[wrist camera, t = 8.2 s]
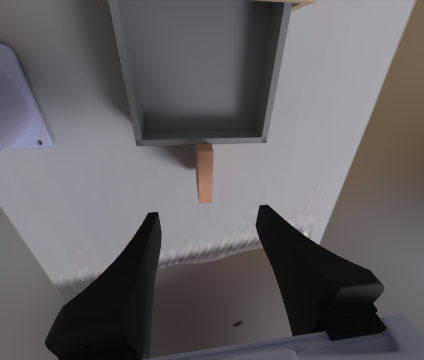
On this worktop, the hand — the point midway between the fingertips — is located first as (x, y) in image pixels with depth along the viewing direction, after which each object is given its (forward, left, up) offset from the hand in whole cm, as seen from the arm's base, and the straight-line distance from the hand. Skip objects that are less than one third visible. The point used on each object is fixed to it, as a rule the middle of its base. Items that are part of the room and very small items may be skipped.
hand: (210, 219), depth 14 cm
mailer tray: (0, +8, -9) cm, 12 cm away
